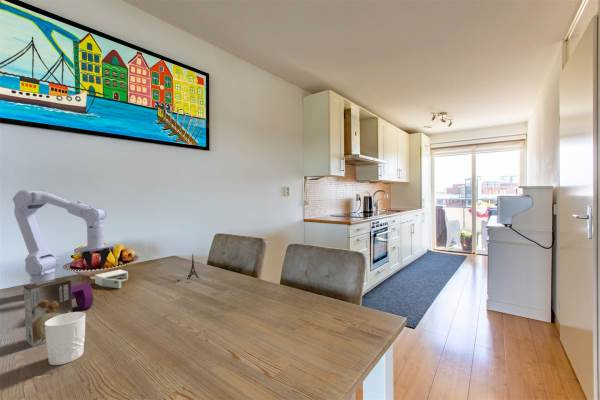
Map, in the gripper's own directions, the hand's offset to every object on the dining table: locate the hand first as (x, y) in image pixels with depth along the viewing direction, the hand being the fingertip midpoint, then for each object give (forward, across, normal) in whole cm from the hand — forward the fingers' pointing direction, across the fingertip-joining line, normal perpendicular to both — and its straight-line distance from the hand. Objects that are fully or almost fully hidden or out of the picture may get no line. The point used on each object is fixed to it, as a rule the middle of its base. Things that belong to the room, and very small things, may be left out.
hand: (96, 267), depth 117 cm
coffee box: (+11, -24, -33) cm, 42 cm away
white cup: (+11, -24, -50) cm, 57 cm away
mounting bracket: (+11, -14, -11) cm, 20 cm away
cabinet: (+10, +10, +10) cm, 18 cm away
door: (+10, +6, +1) cm, 12 cm away
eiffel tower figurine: (+11, +34, -18) cm, 40 cm away
